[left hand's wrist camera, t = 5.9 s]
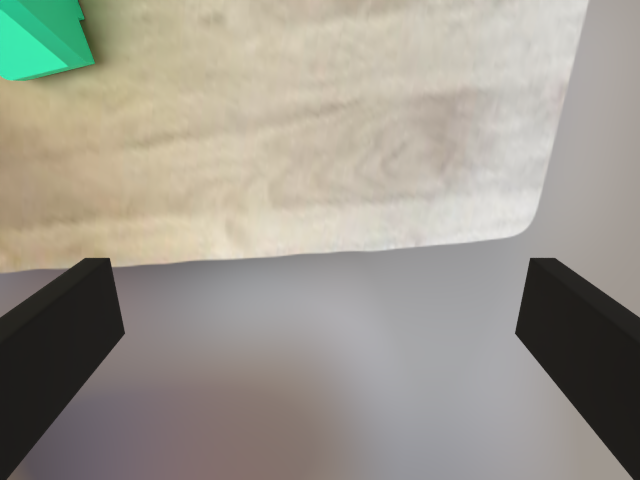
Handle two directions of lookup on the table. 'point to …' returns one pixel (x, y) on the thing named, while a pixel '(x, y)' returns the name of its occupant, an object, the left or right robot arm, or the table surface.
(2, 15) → the camera mount
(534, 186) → the table surface
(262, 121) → the table surface
